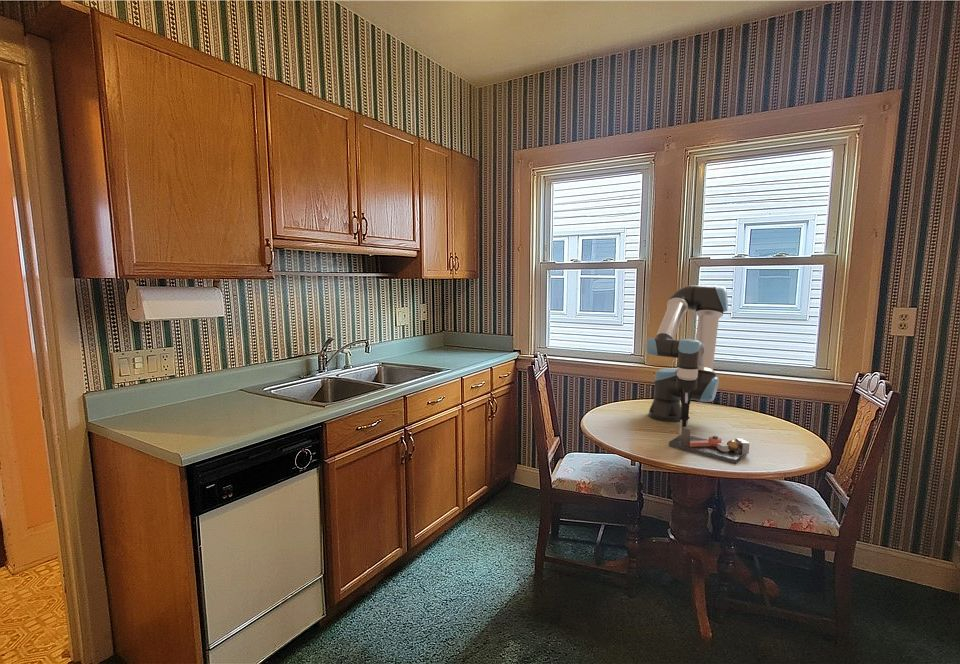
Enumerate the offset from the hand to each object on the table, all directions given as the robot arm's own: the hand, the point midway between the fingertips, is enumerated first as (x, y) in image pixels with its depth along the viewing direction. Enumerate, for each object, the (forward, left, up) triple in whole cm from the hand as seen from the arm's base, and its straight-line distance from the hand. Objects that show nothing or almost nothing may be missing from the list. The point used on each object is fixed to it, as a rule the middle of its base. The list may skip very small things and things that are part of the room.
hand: (683, 434), depth 183 cm
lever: (+10, -6, -1) cm, 12 cm away
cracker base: (+10, -2, -3) cm, 11 cm away
